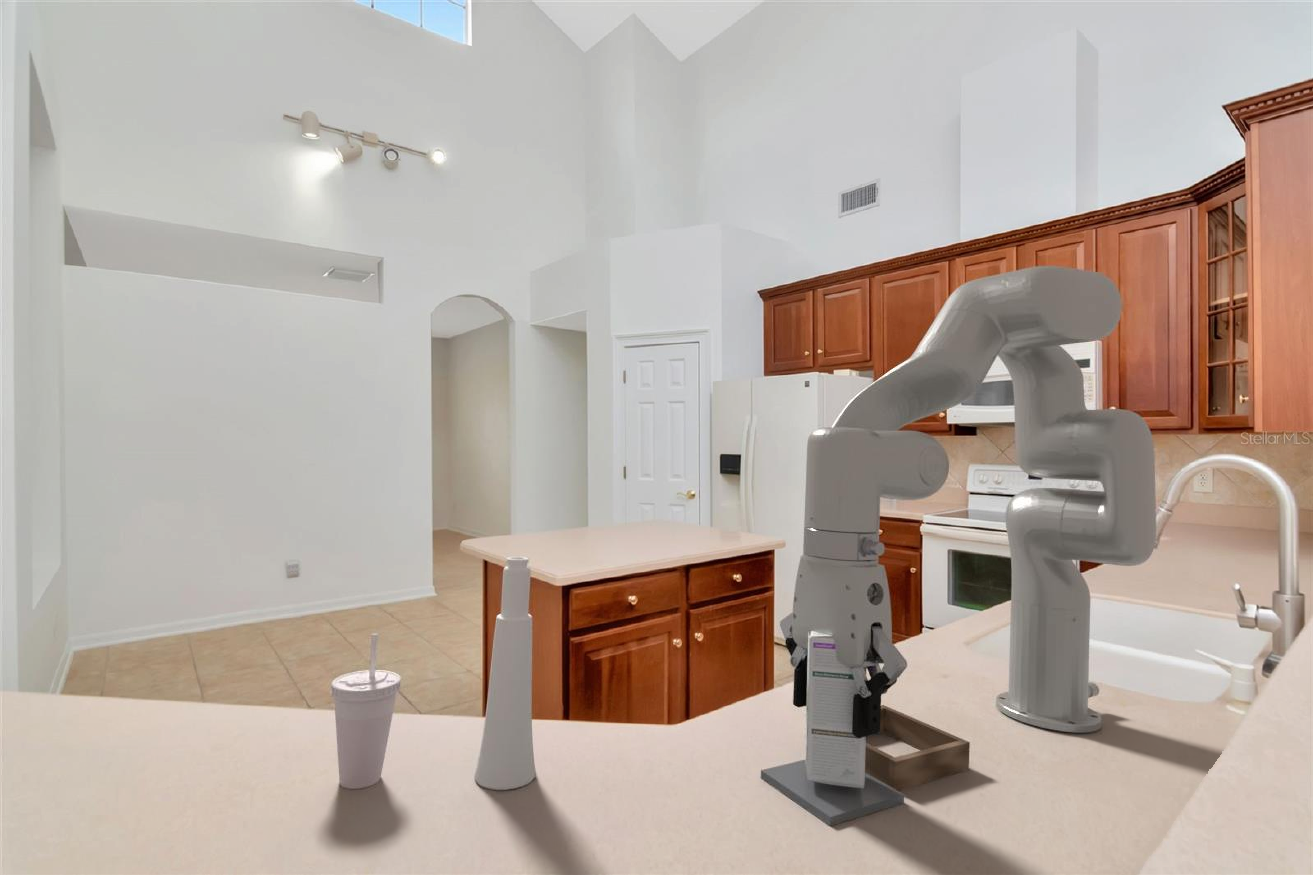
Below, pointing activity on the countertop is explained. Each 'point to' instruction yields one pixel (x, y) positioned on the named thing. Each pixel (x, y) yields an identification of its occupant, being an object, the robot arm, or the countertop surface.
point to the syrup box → (831, 718)
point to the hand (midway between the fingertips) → (834, 718)
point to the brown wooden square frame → (931, 763)
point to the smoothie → (363, 721)
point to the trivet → (831, 794)
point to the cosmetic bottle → (510, 689)
